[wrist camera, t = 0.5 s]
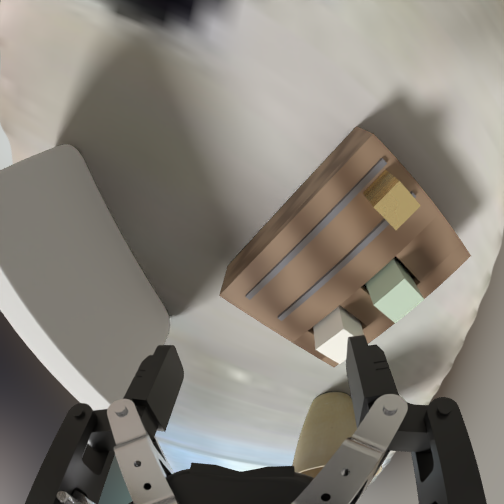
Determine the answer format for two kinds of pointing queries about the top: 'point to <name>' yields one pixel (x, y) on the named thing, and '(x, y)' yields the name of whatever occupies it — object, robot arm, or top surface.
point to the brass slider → (391, 199)
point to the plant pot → (324, 432)
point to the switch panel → (339, 248)
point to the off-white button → (336, 333)
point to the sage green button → (394, 291)
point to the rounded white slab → (74, 278)
